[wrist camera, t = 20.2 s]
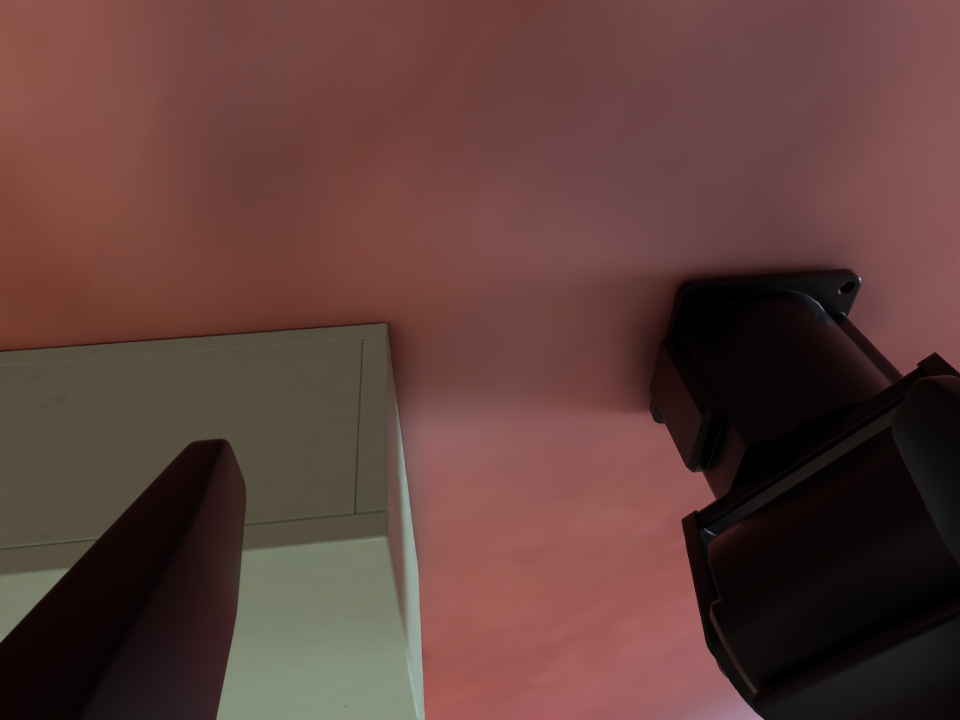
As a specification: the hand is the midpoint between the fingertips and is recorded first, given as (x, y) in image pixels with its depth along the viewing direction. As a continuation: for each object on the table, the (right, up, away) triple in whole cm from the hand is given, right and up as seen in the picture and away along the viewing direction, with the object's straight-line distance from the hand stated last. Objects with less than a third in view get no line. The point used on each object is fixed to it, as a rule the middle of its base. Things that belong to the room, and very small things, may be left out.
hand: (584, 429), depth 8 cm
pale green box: (-11, -4, +17) cm, 21 cm away
